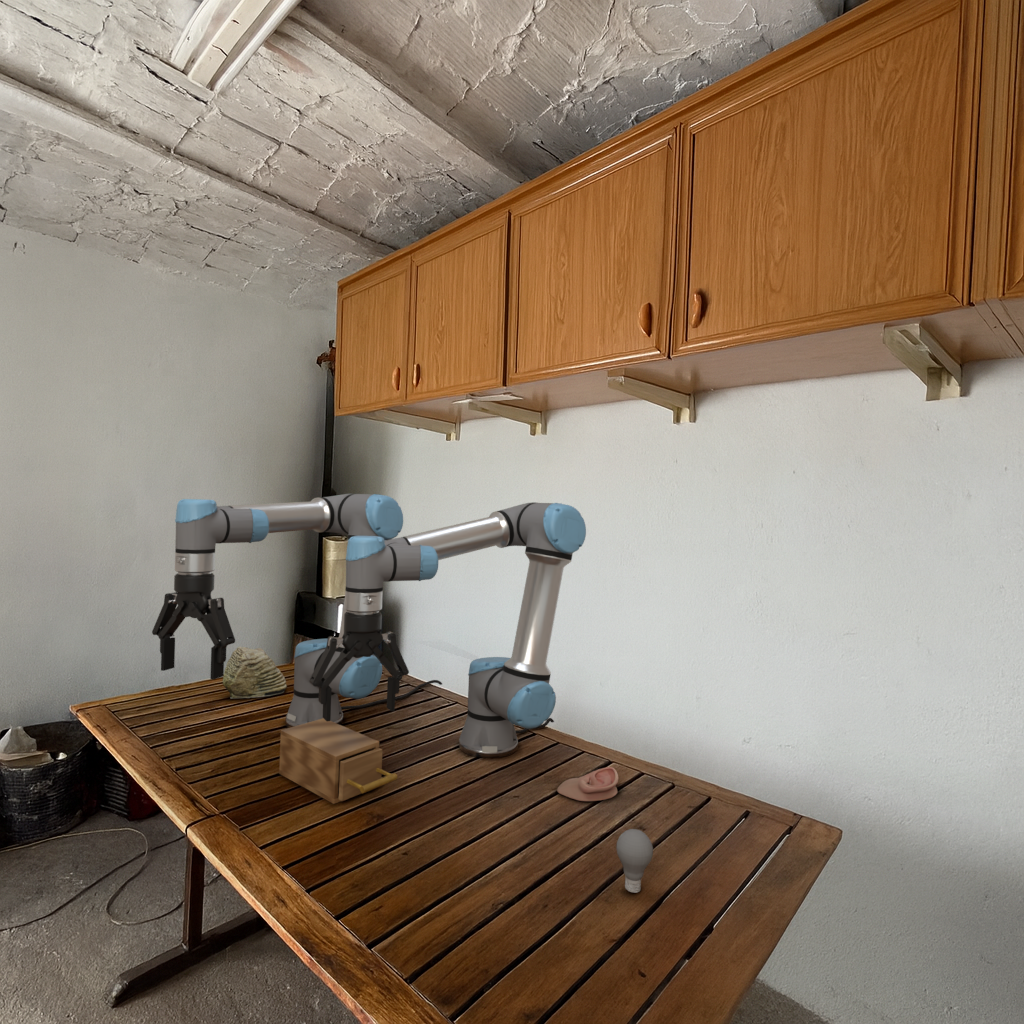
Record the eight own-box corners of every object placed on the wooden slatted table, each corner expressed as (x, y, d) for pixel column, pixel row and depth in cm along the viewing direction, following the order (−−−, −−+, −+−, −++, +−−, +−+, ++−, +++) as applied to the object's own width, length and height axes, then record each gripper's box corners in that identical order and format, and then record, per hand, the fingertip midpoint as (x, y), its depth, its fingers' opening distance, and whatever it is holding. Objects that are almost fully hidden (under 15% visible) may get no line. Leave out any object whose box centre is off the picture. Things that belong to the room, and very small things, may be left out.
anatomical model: (555, 779, 137) (562, 758, 149) (554, 797, 138) (561, 775, 149) (617, 787, 135) (619, 766, 146) (616, 806, 135) (618, 783, 146)
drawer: (399, 794, 134) (401, 757, 134) (360, 811, 126) (361, 772, 126) (328, 759, 150) (329, 726, 150) (289, 772, 142) (290, 737, 142)
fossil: (218, 695, 195) (220, 647, 195) (278, 685, 208) (279, 640, 207) (228, 703, 189) (230, 653, 188) (289, 692, 201) (290, 645, 201)
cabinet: (377, 786, 140) (379, 741, 140) (333, 804, 131) (335, 756, 131) (322, 759, 153) (323, 718, 152) (279, 773, 144) (280, 730, 144)
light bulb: (610, 879, 108) (613, 822, 108) (644, 879, 109) (647, 822, 109) (619, 902, 102) (622, 840, 102) (655, 901, 103) (658, 840, 103)
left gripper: (135, 569, 133) (132, 669, 134) (227, 579, 125) (224, 686, 125) (165, 566, 140) (163, 661, 141) (255, 575, 132) (252, 676, 132)
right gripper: (306, 618, 120) (302, 729, 120) (426, 610, 133) (422, 710, 134) (296, 611, 126) (292, 717, 127) (412, 604, 140) (408, 700, 140)
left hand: (191, 673), depth 133 cm, fingers open, 13 cm apart
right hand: (359, 714), depth 130 cm, fingers open, 13 cm apart
